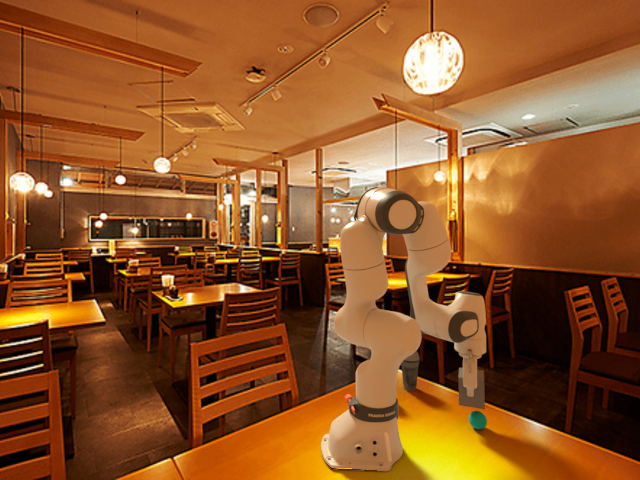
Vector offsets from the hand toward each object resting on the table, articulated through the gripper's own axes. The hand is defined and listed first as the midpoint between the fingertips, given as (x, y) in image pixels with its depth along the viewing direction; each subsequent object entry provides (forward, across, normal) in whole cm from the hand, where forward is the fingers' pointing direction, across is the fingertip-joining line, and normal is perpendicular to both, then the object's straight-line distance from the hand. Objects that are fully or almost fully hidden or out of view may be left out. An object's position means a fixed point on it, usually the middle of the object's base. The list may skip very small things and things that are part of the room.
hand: (470, 388), depth 106 cm
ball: (+9, -1, -2) cm, 9 cm away
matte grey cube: (+4, 0, 0) cm, 4 cm away
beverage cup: (+12, +17, +21) cm, 30 cm away
